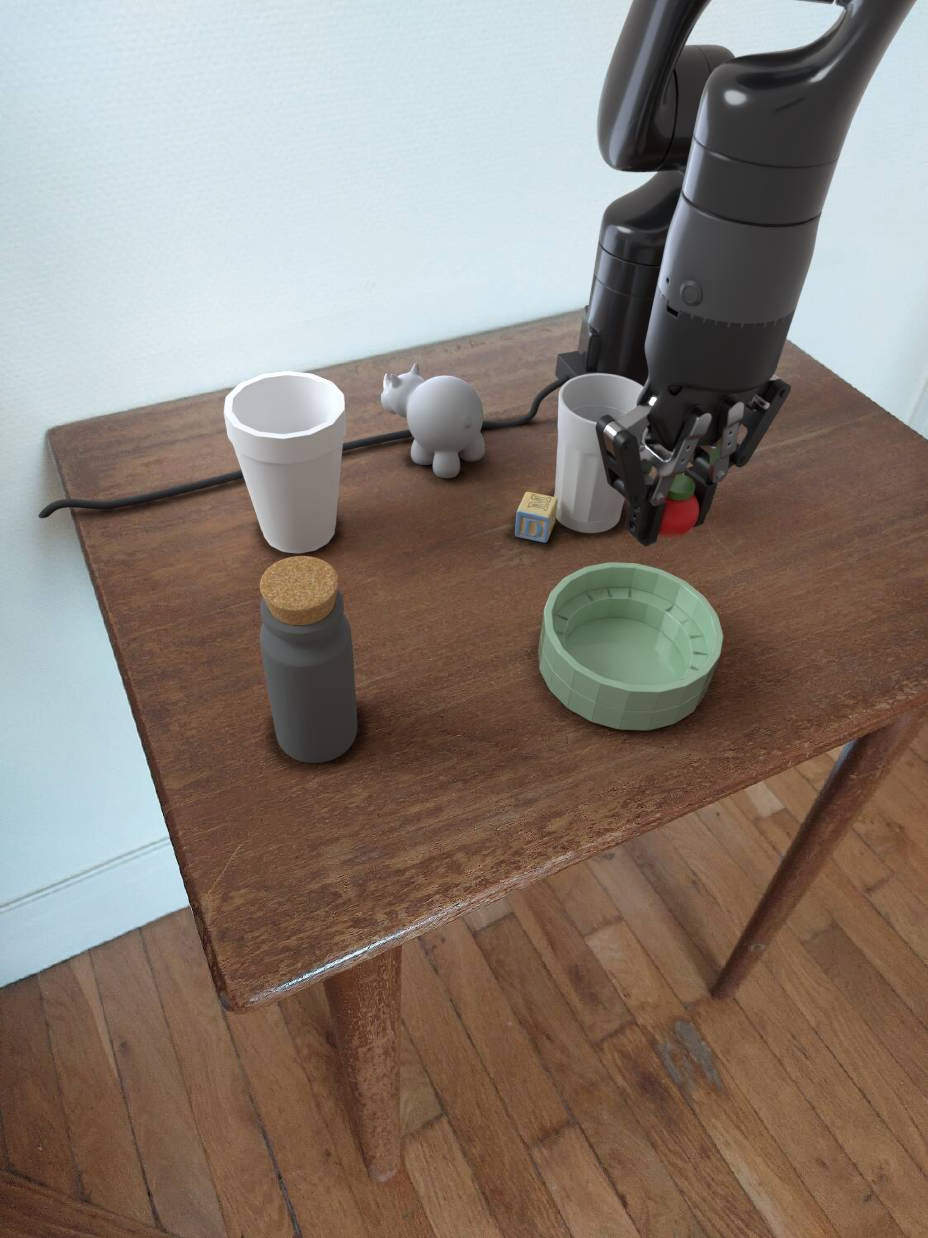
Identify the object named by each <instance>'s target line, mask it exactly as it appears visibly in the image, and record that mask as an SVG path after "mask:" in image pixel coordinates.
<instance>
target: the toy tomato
mask: <svg viewBox="0 0 928 1238" xmlns="http://www.w3.org/2000/svg"><path fill="white" fill-rule="evenodd" d="M694 490H695V483H694V481H693V480H692V479H691V478H689V477H688V476H686V475H684V473H683V474H681V475H676V476H675V478H674V481H673V483H672V485H671V488H670V490H669V492H668V494H667V497H666V499H665V501H666V502H667V503H666V506H665V510H664V514H663V518H662V522H661V526H660V530H659V534H658V536H660V537H663V538H667V539H672V538H673V539H675V538H679V537H682V536H683V535H685V534H687V533H688V532H690V531H691V530H692V529H693V528H692V527H693V526H694V525H695V523H696V521H697V519H698V515H699V504H698V501H697V498H696V496H695V495H694Z"/></svg>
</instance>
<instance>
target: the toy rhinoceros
mask: <svg viewBox="0 0 928 1238" xmlns="http://www.w3.org/2000/svg"><path fill="white" fill-rule="evenodd" d="M389 377H390V379H389ZM382 385H383V386H382V387H383V391H382V393H381V394H380V401H381V402H380V403H381V406H382V408H383V409H384V410H385V411H386V412H387V413H389V414H392V415H398V416H400V417H402V418H406V422H407V427H408V430H410V432H411V433H412V435H413V437H412V438H414V439H413V442H412V444H411V447H410V457H411V460H412V461H413V462H414V464H417V465H421V466H429V465H432V470H433V473H434V475H435V476H436V477H438V478H441V479H452V478H455V477H456V476H458V475H459V473H460V470H461V469H460V468H461V461H460V459H462V460H463V461H465V462H477V461H480V460H481V459H483V457H484V455H485V450H486V445H485V440H484V437H483V435H482V433H481V429H482V428H481V427H482V423H483V421H484V408H483V404H482V401H481V398H480V395H479V394H478V392H477V391H476V390H475V389H474V387H473V386H472V385H471V384H469V383H468V382H467V381H465V380H463V379H461V378H459V377H457V376H453V375H437V376H434V377H431V378H428V379H427V380H425V379H424V378H423V377H422V376H421V374H420V367H419V364H418V362H414V364H413V365H412V367H411V369H410V371H409V372H406V373H402V374H399V375H397V374H395V373H391V374H390V375H388V373H385V374H384V377H383V382H382Z"/></svg>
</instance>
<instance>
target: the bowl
mask: <svg viewBox="0 0 928 1238" xmlns="http://www.w3.org/2000/svg"><path fill="white" fill-rule="evenodd" d="M723 641H724V632H723V629H722V625H721V622H720V618H719V615H718V613H717V612H716V611H715V609H714V608H713V606H712V605H711V603H710V602H709V600H708V599H707V598H706V596H705V595H703V594H702V593H701V592H699V590H698V589H696V588H695V587H693V586H692V585H691V584H690V583H689V582H688V581H686V580H684V579H682V578H680V577H678V576H676V575H674V574H672V573H670V572H668V571H666V570H665V569H661V568H658V567H653V566H649V565H645V564H641V563H635V562H618V561H617V562H616V561H614V562H612V561H611V562H610V561H609V562H604V563H599V564H593V565H588V566H585V567H582V568H580V569H578V570H576V571H574V572H573V573H570V574H569V575H566V576H565V577H564V578H563V579H561V580H560V582H559V583H558V584H557V585H556V586H555V587H554V588H553V589H552V590H551V591H550V593H549V596H548V598H547V601H546V603H545V606H544V609H543V614H542V621H541V627H540V634H539V640H538V648H537V656H538V657H537V658H538V668H539V671H540V673H541V675H542V678H543V679H544V682H545V684H546V687H547V688H548V689H549V692H551V693H552V694H553V696H555V697H556V699H558V700H559V701H560V702H561V703H562V704H563V705H564V706H565V707H566V708H567V709H568V710H570V711H571V712H573V713H575V714H576V715H579V716H580V717H582V718H584V719H586V720H587V721H589V722H591V723H594V724H597V725H601V726H604V727H607V728H612V729H615V730H620V731H652V730H655V729H660V728H664V727H667V726H671V725H674V724H676V723H678V722H680V721H681V720H682V719H684V718H686V717H687V716H689V715H690V714H692V713H694V711H695V710H696V709H697V707H698V706H699V705H700V703H701V702H702V701H703V699H704V697H705V696H706V695H707V692H708V689H709V687H710V684H711V681H712V679H713V676H714V673H715V671H716V668H717V665H718V662H719V660H720V657H721V653H722V648H723Z"/></svg>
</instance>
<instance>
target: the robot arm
mask: <svg viewBox="0 0 928 1238" xmlns="http://www.w3.org/2000/svg"><path fill="white" fill-rule="evenodd" d="M712 1H713V0H632V2H631V5H630V7H629V9H628V11H627V12H628V13H627V15H626V18H625V19H624V20H625V21H624V23H623V25H622V28H621V30H620V34H619V36H618V39H617V41H616V45H615V47H614V50H613V53H612V56H611V58H610V60H609V64H608V68H607V70H606V73H605V76H604V79H603V84H602V88H601V93H600V96H599V100H598V101H599V102H598V107H597V108H598V109H597V115H596V137H597V146H598V151H599V153H600V156H601V159H603V161H604V162H605V164H606V165H607V166H609V167H610V168H611V169H613V170H615V171H618V172H623V173H636V174H637V173H655V174H654V175H653V176H652V177H651V178H649V180H646V181H645V182H644V183H642V184H641V185H640V186H639V187H637V188H635V189H634V190H631V191H630V192H628V193H626V194H624V195H621V196H619V197H617V198H616V199H614V200H613V201H611V202H610V203H609V204H608V205H607V206H606V208H605V209H604V212H603V214H602V216H601V221H600V227H599V234H598V242H597V248H596V254H595V260H594V267H593V273H592V280H591V287H590V293H589V298H588V299H589V300H588V304H586V305H585V306H584V307H583V312H582V319H581V325H580V332H579V338H578V346H577V350H574V351H573V350H572V351H569V352H563V353H562V352H561V353H558V354H557V357H556V365H555V371H554V372H555V373H554V375H555V377H556V378H557V380H554V381H553V382H551V383H550V384H548V385H546V386H545V387H544V388H542V389H541V390H540V391H539V392H538V393H537V394H536V396H535V397H534V399H533V401H532V403H531V407H530V409H529V411H528V412H527V413H525V414H524V415H521V416H520V417H518V418H515V419H512V420H506V421H494V420H493V421H491V420H483V423H482V427H481V429H486V430H487V429H490V430H491V429H502V428H511V427H518V426H522V425H525V424H526V423H528V422H530V421H532V420H533V419H534V418H535V417H536V415H537V414H538V411H539V409H540V405H541V403H542V402H543V400H544V399H545V398H546V397H547V396H548V395H550V394H551V393H553V392H554V391H557V390H558V389H559V388H561V387H562V386H563V385H564V384H565V383H566V382H567V381H569V380H570V379H572V378H575V377H577V376H581V375H585V374H594V373H603V374H612V375H617V376H621V377H625V378H628V379H630V380H633V381H635V382H637V383H638V384H640V385H642V386H643V389H642V391H641V392H640V394H639V396H638V398H637V404H636V406H637V407H636V408H634V409H633V410H631V411H630V412H628V413H627V414H625V415H624V416H622V417H621V418H619V419H618V420H615V419H614V418H613V417H612V416H611V415H604V416H602V417H601V418H600V419H599V420H598V422H597V424H596V427H595V429H596V433H597V438H598V442H599V447H600V451H601V456H602V460H603V465H604V469H605V474H606V478H607V482H608V484H609V485H610V486H611V487H612V488H613V489H616V490H617V491H618V492H619V493H620V494H621V495H622V496H623V497H624V498H625V500H626V501H627V503H628V508H627V513H626V517H625V523H624V526H625V529H626V530H627V531H628V532H629V533H630V535H631V536H632V537H633V538H635V540H636V541H638V542H639V543H640V544H641V545H642V546H643V547H649V546H651V545H654V544H656V543H657V541H658V537H659V535H658V534H659V530H660V526H661V522H662V518H663V514H664V510H665V506H666V503H667V502H666V501H665V499H666V497H667V494H668V492H669V490H670V488H671V485H672V483H673V481H674V478H675V476H676V475H681V474H683V475H686V476H688V477H689V478H691V479H692V480H693V481H694V483H695V490H694V495H695V496H696V498H697V501H698V504H699V515H698V519H697V521H696V523H695V525H694V526H693V527H692V529H693V528H697V527H699V526H701V525H703V524H704V523H705V521H706V517H707V515H708V513H709V511H710V509H711V507H712V504H713V500H714V497H715V494H716V491H717V487H718V484H719V483H721V482H722V481H724V479H725V478H726V477H727V475H728V472H729V469H730V468H732V467H733V466H735V467H736V468H738V469H740V468H743V467H744V466H746V465H747V464H748V463H749V461H750V460H751V458H752V456H753V455H754V453H755V451H756V450H757V448H758V446H759V445H760V443H761V442H762V440H763V438H764V437H765V435H766V433H767V432H768V430H769V428H770V426H771V425H772V423H773V422H774V419H775V418H776V416H777V415H778V413H779V411H780V410H781V408H782V407H783V405H784V403H785V402H786V400H787V398H788V396H789V395H790V394H791V391H792V385H791V384H790V383H788V382H787V381H785V380H783V379H782V378H781V377H779V376H778V375H776V374H775V373H776V371H777V370H778V369H777V368H778V366H779V363H780V359H781V356H782V353H783V350H784V347H785V345H786V344H785V343H786V341H787V338H788V336H789V335H788V334H789V331H790V328H791V325H792V322H793V319H794V316H795V314H796V310H797V307H798V304H799V301H800V297H801V294H802V292H803V288H804V285H805V283H806V279H807V276H808V274H809V269H810V266H811V264H812V260H813V257H814V252H815V247H816V241H817V235H818V230H819V224H820V221H821V217H822V213H823V209H824V206H825V203H826V200H827V197H828V194H829V191H830V187H831V185H832V182H833V178H834V175H835V172H836V169H837V166H838V162H839V160H840V156H841V154H842V151H843V148H844V145H845V142H846V138H847V136H848V134H849V130H850V128H851V125H852V122H853V119H854V117H855V115H856V112H857V110H858V108H859V106H860V104H861V101H862V99H863V97H864V95H865V92H866V90H867V88H868V87H869V84H870V83H871V80H872V78H873V77H874V75H875V73H876V71H877V70H878V67H879V65H880V63H881V61H882V59H883V58H884V56H885V54H886V52H887V50H888V48H889V47H890V45H891V44H892V42H893V40H894V38H895V36H896V35H897V33H898V31H899V30H900V28H901V27H902V25H903V23H904V22H905V20H906V18H907V17H908V15H909V14H910V12H911V10H912V9H913V7H914V6H915V4H916V3H917V1H918V0H795V2H796V1H797V2H805V3H812V4H813V3H815V4H823V5H833V4H835V6H837V7H841V8H842V11H841V13H840V14H839V16H838V18H837V19H836V21H835V22H833V24H832V25H831V26H830V27H829V28H828V29H827V30H826V31H825V32H824V33H823V34H821V35H820V36H819V37H818V38H817V39H815V40H813V41H811V42H809V43H807V44H805V45H800V46H798V47H795V48H789V49H784V50H775V51H767V52H766V51H765V52H757V53H750V54H744V55H739V56H735V54H734V53H733V52H732V51H731V50H730V49H729V48H728V47H725V46H723V45H719V44H686V43H687V42H688V40H689V37H690V36H691V34H692V32H693V30H694V28H695V26H696V25H697V23H698V21H699V19H700V18H701V17H702V15H703V13H704V12H705V10H706V9H707V7H708V6H709V5H710V4H711V3H712ZM741 425H742V426H743V427H745V428H746V434H745V435H744V436H743V439H742V440H741V441H740V443H739V442H738V436H739V430H740V429H739V428H740V426H741ZM409 438H414V437H413V435H412V433H411V432H410V429H405V430H399V431H394V432H388V433H383V434H378V435H373V436H369V437H363V438H360V439H355V440H351V441H347V442H343V447H342V453H343V452H347V451H350V450H355V449H359V448H364V447H369V446H373V445H377V444H383V443H386V442H393V441H396V440H402V439H409ZM689 464H690V465H691V466H688V465H689ZM653 467H654V468H655V470H656V475H655V477H654V478H653V477H652V476H651V471H652V468H653ZM241 479H244V476H243V473H242V470H241V469H240V470H235V471H232V472H228V473H224V474H221V475H220V474H219V475H216V476H213V477H209V478H204V479H201V480H197V481H193V482H188V483H185V484H180V485H176V486H173V487H168V488H164V489H161V490H160V489H159V490H155V491H151V492H147V493H143V494H138V495H133V496H127V497H123V498H122V497H121V498H115V499H109V500H94V499H93V500H92V499H91V500H90V499H81V498H62V499H59V500H55V501H52V502H50V503H49V504H48V505H46V506H45V507H43V508H42V510H41V511H40V513H39V514H38V518H40V519H46V518H49V517H50V516H51V515H52V514H54V512H56V511H58V510H61V509H66V508H76V509H88V510H112V509H119V508H124V507H130V506H136V505H142V504H146V503H149V502H154V501H158V500H162V499H166V498H171V497H174V496H180V495H182V494H186V493H191V492H195V491H199V490H203V489H207V488H210V487H214V486H219V485H222V484H226V483H229V482H233V481H237V480H241Z"/></svg>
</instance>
